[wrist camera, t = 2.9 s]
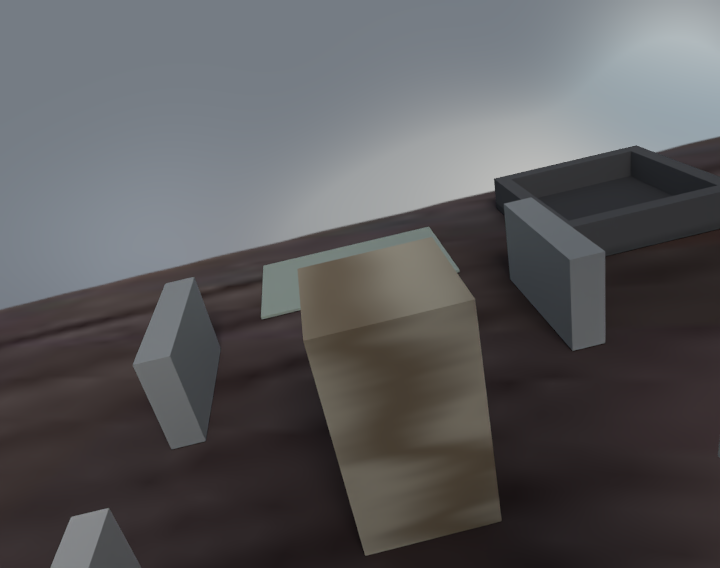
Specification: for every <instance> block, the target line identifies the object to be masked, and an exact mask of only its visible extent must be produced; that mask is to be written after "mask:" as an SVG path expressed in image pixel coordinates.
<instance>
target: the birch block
mask: <svg viewBox="0 0 720 568" xmlns="http://www.w3.org/2000/svg"><path fill="white" fill-rule="evenodd" d="M297 270H298V282H299V295H300V307H301V319H302V331H303V342H304V345H305V348H306V352H307V355H308V359H309V362H310V366H311V369H312V373H313V376H314V380H315V383H316V387H317V390H318V394H319V397H320V401H321V404H322V408H323V411H324V415H325V418H326V421H327V425H328V428H329V432H330V435H331V439H332V442H333V446H334V449H335V453H336V456H337V460H338V463H339V467H340V470H341V474H342V477H343V481H344V484H345V487H346V491H347V494H348V498H349V501H350V505H351V508H352V512H353V515H354V519H355V522H356V526H357V529H358V533H359V536H360V540H361V543H362V547H363V550H364V554H365V556H367V555H371V554H375V553H379V552H383V551H387V550H391V549H394V548H398V547H402V546H406V545H410V544H414V543H418V542H422V541H426V540H430V539H434V538H438V537H442V536H446V535H449V534H453V533H457V532H461V531H465V530H469V529H473V528H477V527H481V526H485V525H489V524H493V523H497V522H501V521H502V519H501V511H500V502H499V494H498V486H497V477H496V469H495V461H494V452H493V444H492V436H491V427H490V419H489V411H488V402H487V394H486V386H485V377H484V369H483V361H482V352H481V344H480V336H479V327H478V319H477V311H476V302H475V298H474V297H473V296H472V294H471V293H470V291H469V290H468V288H467V287H466V285H465V284H464V282H463V281H462V280H461V278H460V277H459V275H458V274H457V272H456V271H455V269H454V268H453V267H452V265H451V264H450V262H449V261H448V259H447V258H446V256H445V255H444V253H443V252H442V251H441V249H440V248H439V246H438V245H437V243H436V242H435V240H434V239H433V238H432V237H429V238H425V239H421V240H417V241H412V242H408V243H404V244H400V245H396V246H391V247H387V248H383V249H379V250H375V251H370V252H366V253H362V254H358V255H353V256H349V257H345V258H341V259H337V260H332V261H328V262H324V263H320V264H315V265H311V266H307V267H303V268H299V269H297Z"/></svg>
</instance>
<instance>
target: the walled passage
mask: <svg viewBox="0 0 720 568" xmlns="http://www.w3.org/2000/svg"><path fill="white" fill-rule="evenodd" d="M504 213H505V225H506V236H507V248H508V259H509V271H510V280H511V281H512V282H513V283H514V284H515V285H516V286H517V288H518V289H519V290H520V291H521V292H522V293H523V294H524V296H525V297H526V298H527V299H528V300H529V301H530V302H531V304H532V305H533V306H534V307H535V308H536V309H537V311H538V312H539V313H540V314H541V315H542V316H543V317H544V319H545V320H546V321H547V322H548V323H549V324H550V325H551V327H552V328H553V329H554V330H555V331H556V332H557V333H558V335H559V336H560V337H561V338H562V339H563V340H564V342H565V343H566V344H567V345H568V346H569V347H570V348H571V350H572V351H574V350H578V349H583V348H587V347H591V346H595V345H599V344H603V343H605V251H604V250H603V249H601V248H600V247H598V246H597V245H596V244H594V243H593V242H592V241H590V240H589V239H588V238H586V237H585V236H583V235H582V234H581V233H579V232H578V231H577V230H575V229H574V228H573V227H571V226H570V225H568V224H567V223H566V222H564V221H563V220H562V219H560V218H559V217H558V216H556V215H555V214H553V213H552V212H551V211H549V210H548V209H547V208H545V207H544V206H542V205H541V204H540V203H538V202H537V201H536V200H534V199H533V198H532V197H530V198H526V199H522V200H518V201H513V202H509V203H505V204H504ZM220 351H221V348H220V345H219V343H218V340H217V337H216V335H215V332H214V329H213V326H212V324H211V321H210V318H209V316H208V313H207V310H206V307H205V305H204V302H203V299H202V297H201V294H200V291H199V288H198V286H197V283H196V280H195V278H194V277H192V278H188V279H183V280H179V281H175V282H171V283H166V284H165V286H164V289H163V291H162V294H161V296H160V299H159V301H158V304H157V306H156V309H155V311H154V313H153V316H152V318H151V321H150V323H149V326H148V328H147V331H146V333H145V336H144V338H143V341H142V343H141V346H140V348H139V351H138V353H137V355H136V358H135V360H134V363H133V367H134V369H135V371H136V373H137V376H138V378H139V380H140V382H141V384H142V386H143V389H144V391H145V393H146V395H147V397H148V399H149V402H150V404H151V406H152V408H153V410H154V412H155V415H156V417H157V419H158V421H159V423H160V425H161V428H162V430H163V432H164V434H165V436H166V438H167V441H168V443H169V445H170V447H171V449H176V448H180V447H184V446H188V445H192V444H196V443H200V442H204V441H206V436H207V430H208V424H209V418H210V412H211V406H212V400H213V393H214V387H215V381H216V375H217V369H218V363H219V357H220Z"/></svg>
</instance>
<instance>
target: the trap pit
mask: <svg viewBox="0 0 720 568" xmlns="http://www.w3.org/2000/svg"><path fill="white" fill-rule="evenodd" d="M494 181H495V194H496V204H497V209H498V210H499V211H500V212H501V213H502V214H504V215H505V213H504V204H505V203H509V202H513V201H518V200H522V199H526V198H530V197H532V198H533V199H534V200H536V201H537V202H538V203H540V204H541V205H542V206H544V207H545V208H547V209H548V210H549V211H551V212H552V213H553V214H555V215H556V216H558V217H559V218H560V219H562V220H563V221H564V222H566V223H567V224H568V225H570V226H571V227H573V228H574V229H575V230H577V231H578V232H579V233H581V234H582V235H583V236H585V237H586V238H588V239H589V240H590V241H592V242H593V243H594V244H596V245H597V246H598V247H600V248H601V249H603V250H604V251H605V256H609V255H613V254H617V253H621V252H625V251H629V250H634V249H638V248H642V247H646V246H650V245H654V244H659V243H663V242H667V241H671V240H675V239H679V238H683V237H688V236H692V235H696V234H700V233H704V232H708V231H713V230H717V229H720V177H719V176H716V175H713V174H711V173H708V172H705V171H703V170H700V169H697V168H695V167H692V166H689V165H687V164H684V163H681V162H679V161H676V160H673V159H671V158H668V157H665V156H663V155H660V154H657V153H655V152H652V151H649V150H646V149H644V148H641V147H639V146H632V147H628V148H624V149H619V150H615V151H611V152H607V153H602V154H598V155H594V156H589V157H585V158H581V159H577V160H573V161H569V162H564V163H560V164H556V165H551V166H547V167H543V168H538V169H534V170H530V171H526V172H521V173H517V174H513V175H509V176H505V177H500V178H496V179H494Z"/></svg>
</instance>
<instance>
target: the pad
mask: <svg viewBox="0 0 720 568" xmlns="http://www.w3.org/2000/svg"><path fill="white" fill-rule="evenodd" d="M429 237H432V238H433V239H434V240H435V242H436V243H437V245H438V246H439V248H440V249H441V251H442V252H443V253H444V255H445V256H446V258H447V259H448V261H449V262H450V264H451V265H452V267H453V268H454V269H455V271H456V272H457V273H458V272H460V271H459V269H458V267H457V266H456V264H455V263H454V261H453V260H452V259H451V257H450V256H449V254H448V253H447V252H446V250H445V249H444V247H443V246H442V244H441V243H440V242H439V240H438V239H437V237H436V236H435V235H434V233H433V232H432V230H431V229H430V227H426V228H421V229H417V230H413V231H409V232H405V233H400V234H396V235H392V236H388V237H383V238H379V239H375V240H371V241H367V242H362V243H358V244H354V245H350V246H345V247H341V248H337V249H333V250H328V251H324V252H320V253H316V254H312V255H307V256H303V257H299V258H295V259H290V260H286V261H282V262H278V263H274V264H269V265H265V266H264V267H263V288H262V308H261V319H266V318H270V317H274V316H278V315H282V314H286V313H291V312H295V311H299V310H301V307H300V295H299V282H298V270H297V269H299V268H303V267H307V266H311V265H315V264H320V263H324V262H328V261H332V260H337V259H341V258H345V257H349V256H353V255H358V254H362V253H366V252H370V251H375V250H379V249H383V248H387V247H391V246H396V245H400V244H404V243H408V242H412V241H417V240H421V239H425V238H429Z"/></svg>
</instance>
